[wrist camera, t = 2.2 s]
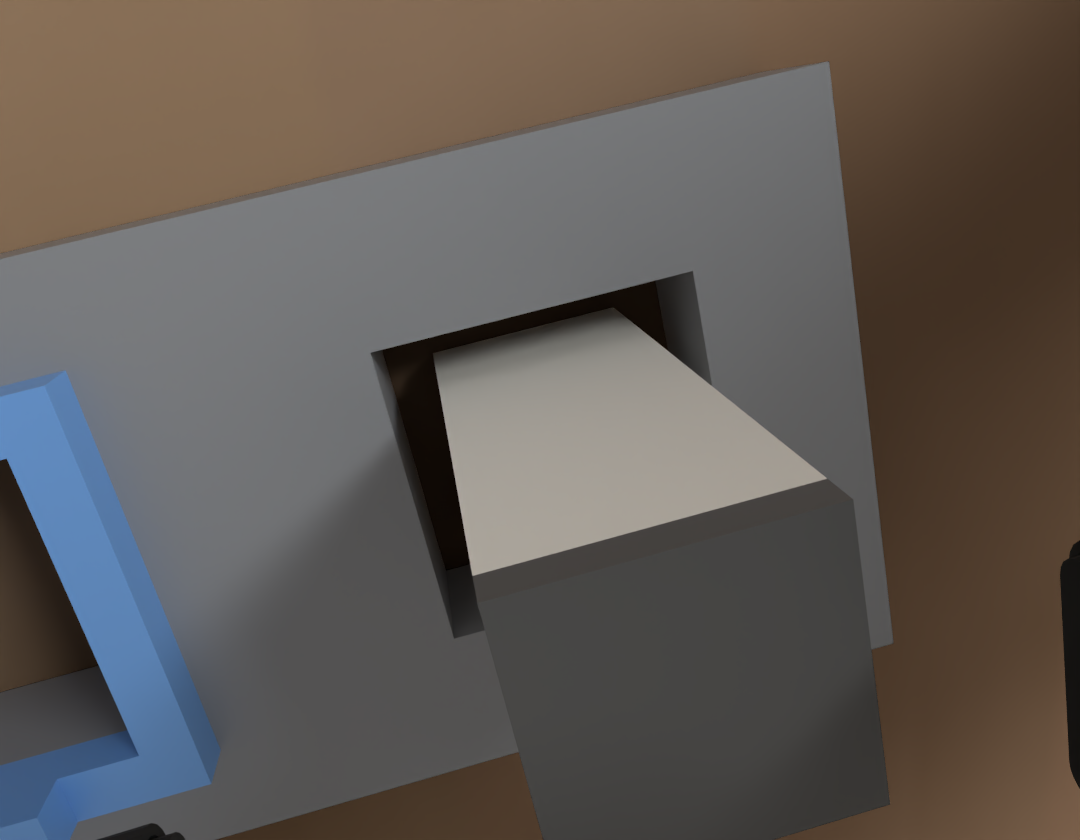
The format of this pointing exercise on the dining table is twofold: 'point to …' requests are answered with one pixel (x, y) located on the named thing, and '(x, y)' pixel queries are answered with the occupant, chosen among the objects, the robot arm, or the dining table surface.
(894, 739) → the dining table surface
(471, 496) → the grey square peg
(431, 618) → the gray peg hole board
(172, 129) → the dining table surface
